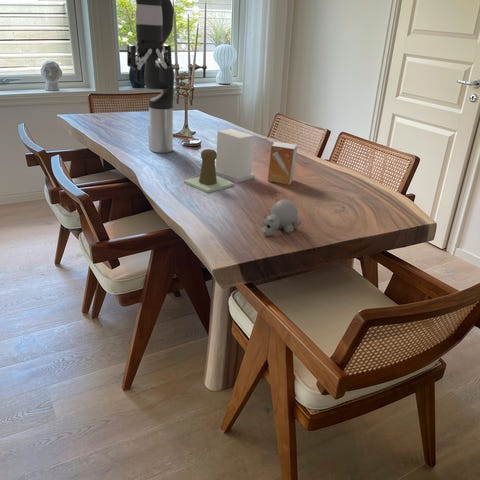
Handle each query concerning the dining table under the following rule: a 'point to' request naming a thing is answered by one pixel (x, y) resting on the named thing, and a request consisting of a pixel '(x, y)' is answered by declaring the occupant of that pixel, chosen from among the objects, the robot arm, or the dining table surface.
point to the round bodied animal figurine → (281, 218)
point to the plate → (209, 188)
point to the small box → (282, 162)
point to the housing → (234, 155)
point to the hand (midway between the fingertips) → (150, 82)
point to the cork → (208, 167)
